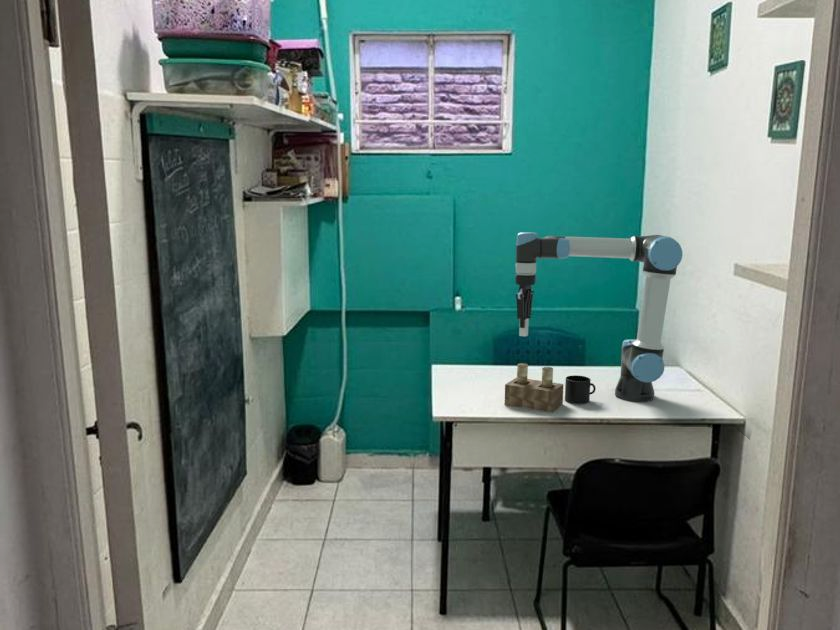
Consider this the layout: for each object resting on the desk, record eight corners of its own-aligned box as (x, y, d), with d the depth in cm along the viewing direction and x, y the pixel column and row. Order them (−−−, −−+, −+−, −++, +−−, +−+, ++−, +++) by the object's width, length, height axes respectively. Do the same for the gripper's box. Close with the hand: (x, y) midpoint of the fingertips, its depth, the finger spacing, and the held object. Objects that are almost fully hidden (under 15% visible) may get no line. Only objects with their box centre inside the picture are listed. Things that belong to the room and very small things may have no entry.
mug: (599, 403, 268) (600, 381, 266) (569, 404, 266) (570, 382, 264) (590, 396, 277) (591, 374, 275) (561, 397, 275) (562, 375, 274)
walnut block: (562, 404, 267) (563, 384, 265) (552, 412, 256) (553, 391, 255) (516, 396, 276) (516, 377, 274) (504, 404, 265) (505, 384, 264)
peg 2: (553, 388, 263) (554, 367, 262) (550, 390, 260) (551, 369, 258) (543, 386, 265) (544, 366, 264) (539, 389, 262) (540, 368, 260)
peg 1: (528, 384, 268) (529, 364, 267) (524, 386, 265) (525, 366, 263) (518, 383, 270) (519, 363, 269) (515, 385, 266) (515, 365, 265)
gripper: (522, 271, 268) (521, 331, 272) (509, 275, 256) (507, 337, 260) (541, 272, 264) (539, 333, 268) (528, 276, 252) (526, 340, 256)
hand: (523, 335), depth 264 cm, fingers closed
